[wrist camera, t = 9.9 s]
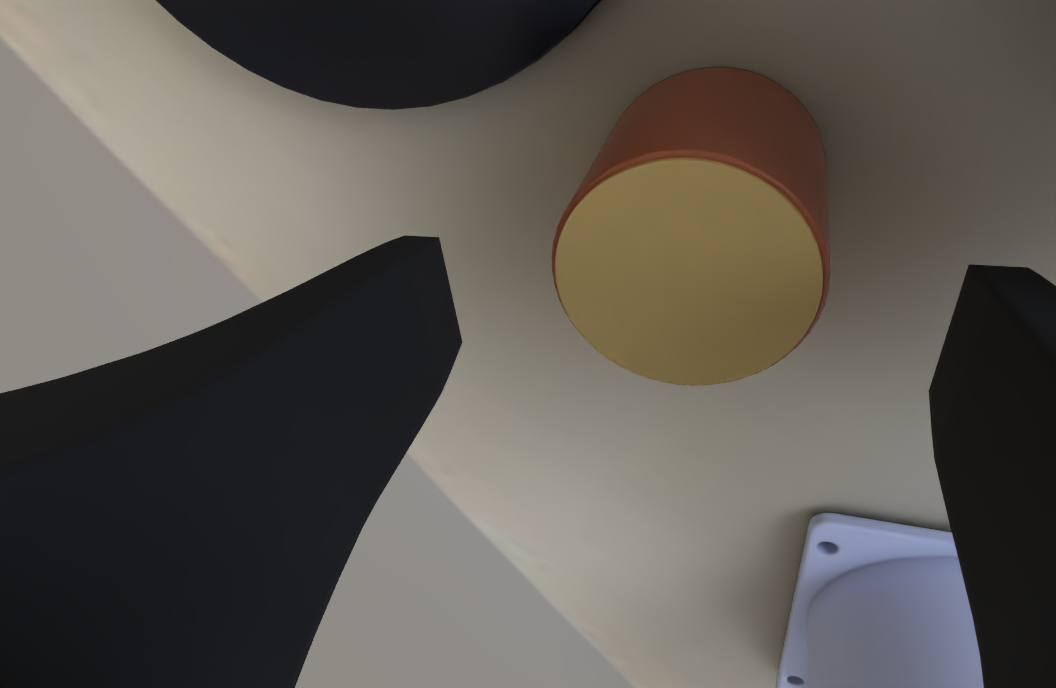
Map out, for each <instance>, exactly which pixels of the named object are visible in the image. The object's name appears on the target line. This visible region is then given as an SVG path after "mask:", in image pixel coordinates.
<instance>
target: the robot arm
mask: <svg viewBox="0 0 1056 688" xmlns="http://www.w3.org/2000/svg"><path fill="white" fill-rule="evenodd" d="M461 344H462V338H461V334H460V329H459V325H458V320H457V316H456V311H455V307H454V302H453V298H452V293H451V289H450V284H449V280H448V275H447V271H446V267H445V262H444V258H443V253H442V249H441V244H440V240H439V237H421V236H402V237H399V238H397V239H394V240H391V241H389V242H386V243H384V244H381V245H379V246H377V247H375V248H373V249H371V250H368V251H366V252H364V253H362V254H360V255H358V256H356V257H354V258H352V259H350V260H348V261H346V262H344V263H342V264H340V265H338V266H336V267H334V268H332V269H330V270H328V271H326V272H324V273H322V274H320V275H318V276H316V277H314V278H312V279H310V280H308V281H306V282H304V283H302V284H300V285H298V286H296V287H294V288H292V289H290V290H288V291H286V292H284V293H282V294H280V295H278V296H276V297H274V298H271V299H269V300H267V301H265V302H263V303H261V304H259V305H256V306H254V307H252V308H250V309H248V310H246V311H244V312H242V313H240V314H237V315H235V316H233V317H231V318H229V319H226V320H224V321H222V322H220V323H217V324H215V325H213V326H210V327H208V328H205V329H203V330H200V331H198V332H196V333H193V334H191V335H188V336H185V337H183V338H180V339H177V340H175V341H172V342H169V343H167V344H164V345H162V346H159V347H156V348H153V349H151V350H148V351H145V352H142V353H139V354H136V355H133V356H130V357H127V358H124V359H120V360H117V361H114V362H111V363H107V364H104V365H101V366H98V367H95V368H91V369H88V370H85V371H82V372H79V373H76V374H72V375H69V376H66V377H62V378H59V379H55V380H51V381H47V382H44V383H40V384H36V385H32V386H28V387H24V388H21V389H17V390H13V391H8V392H4V393H0V688H295V685H296V683H297V680H298V677H299V675H300V672H301V669H302V667H303V664H304V661H305V659H306V657H307V654H308V651H309V649H310V646H311V644H312V641H313V638H314V636H315V634H316V631H317V629H318V627H319V624H320V622H321V620H322V617H323V615H324V612H325V610H326V608H327V605H328V603H329V601H330V598H331V596H332V594H333V591H334V589H335V586H336V584H337V582H338V580H339V577H340V575H341V573H342V571H343V569H344V567H345V564H346V562H347V560H348V558H349V556H350V554H351V551H352V549H353V547H354V545H355V543H356V541H357V538H358V536H359V534H360V532H361V530H362V528H363V526H364V524H365V522H366V520H367V518H368V516H369V515H370V513H371V511H372V509H373V507H374V505H375V504H376V502H377V500H378V498H379V497H380V495H381V493H382V492H383V490H384V488H385V487H386V485H387V483H388V482H389V480H390V478H391V477H392V475H393V474H394V472H395V470H396V469H397V467H398V465H399V464H400V462H401V460H402V459H403V457H404V455H405V454H406V452H407V450H408V449H409V447H410V445H411V444H412V442H413V441H414V439H415V437H416V436H417V434H418V432H419V431H420V429H421V427H422V426H423V424H424V422H425V420H426V419H427V417H428V415H429V414H430V412H431V410H432V409H433V407H434V405H435V403H436V402H437V400H438V398H439V396H440V395H441V393H442V391H443V388H444V386H445V384H446V381H447V379H448V377H449V375H450V372H451V370H452V367H453V365H454V362H455V360H456V357H457V354H458V352H459V349H460V347H461ZM929 399H930V414H931V428H932V439H933V449H934V459H935V463H936V468H937V472H938V476H939V481H940V485H941V489H942V493H943V498H944V502H945V506H946V510H947V515H948V519H949V523H950V527H951V531H952V532H946V531H940V530H934V529H928V528H921V527H915V526H909V525H903V524H897V523H891V522H885V521H878V520H872V519H866V518H860V517H854V516H848V515H842V514H835V513H821V514H817V515H815V516H814V517H812V518H811V520H810V522H809V525H808V530H807V535H806V540H805V545H804V550H803V554H802V559H801V564H800V569H799V574H798V579H797V583H796V588H795V593H794V598H793V603H792V608H791V612H790V617H789V622H788V627H787V632H786V636H785V641H784V646H783V651H782V656H781V661H780V665H779V670H778V675H777V680H776V688H1056V286H1055V285H1053V284H1052V283H1051V282H1049V281H1048V280H1046V279H1045V278H1043V277H1042V276H1041V275H1039V274H1037V273H1036V272H1034V271H1033V270H1031V269H1029V268H1027V267H1007V266H988V265H969V266H968V269H967V272H966V275H965V279H964V282H963V285H962V288H961V291H960V294H959V297H958V301H957V304H956V307H955V310H954V313H953V316H952V320H951V323H950V326H949V329H948V332H947V335H946V338H945V342H944V345H943V348H942V351H941V354H940V357H939V360H938V364H937V367H936V370H935V373H934V376H933V379H932V383H931V386H930V389H929Z"/></svg>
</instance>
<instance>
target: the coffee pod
mask: <svg viewBox="0 0 1056 688" xmlns="http://www.w3.org/2000/svg"><path fill="white" fill-rule="evenodd" d="M552 272H553V277H554V283H555V287H556V290H557V294H558V297H559V300H560V302H561V304H562V306H563V308H564V310H565V312H566V314H567V316H568V317H569V319H570V320H571V322H572V323H573V325H574V326H575V327H576V329H577V330H578V331H579V332H580V334H581V335H582V336H583V337H584V338H585V339H586V340H587V341H588V342H589V343H590V344H591V345H592V346H593V347H594V348H595V349H596V350H597V351H599V352H600V353H601V354H603V355H604V356H605V357H606V358H608V359H609V360H611V361H613V362H614V363H616V364H618V365H619V366H621V367H623V368H625V369H627V370H629V371H631V372H633V373H636V374H639V375H641V376H644V377H647V378H650V379H654V380H658V381H661V382H667V383H673V384H680V385H712V384H720V383H726V382H730V381H734V380H738V379H742V378H745V377H747V376H750V375H753V374H756V373H758V372H760V371H762V370H764V369H766V368H768V367H770V366H772V365H774V364H775V363H777V362H778V361H780V360H781V359H783V358H784V357H786V356H787V355H788V354H789V353H790V352H792V351H793V350H794V349H795V348H796V347H797V346H798V345H799V344H800V343H801V342H802V341H803V340H804V339H805V337H806V336H807V335H808V334H809V333H810V331H811V330H812V328H813V327H814V325H815V324H816V322H817V320H818V319H819V317H820V314H821V312H822V310H823V307H824V305H825V302H826V298H827V294H828V290H829V282H830V254H829V232H828V210H827V188H826V166H825V153H824V148H823V144H822V140H821V137H820V134H819V132H818V129H817V127H816V125H815V123H814V121H813V119H812V118H811V116H810V114H809V113H808V111H807V110H806V109H805V108H804V107H803V105H802V104H801V103H800V102H799V101H798V100H797V99H796V98H795V97H794V96H793V95H792V94H791V93H790V92H788V91H787V90H786V89H784V88H783V87H781V86H780V85H778V84H777V83H775V82H773V81H771V80H769V79H767V78H765V77H763V76H761V75H758V74H755V73H751V72H748V71H745V70H739V69H733V68H717V67H712V68H702V69H695V70H691V71H687V72H682V73H680V74H677V75H674V76H672V77H669V78H667V79H665V80H663V81H661V82H659V83H657V84H655V85H654V86H652V87H651V88H650V89H648V90H647V91H645V92H644V93H643V94H641V95H640V96H639V97H638V98H637V99H636V100H635V101H634V102H633V103H632V104H631V105H630V106H629V107H628V108H627V110H626V111H625V112H624V113H623V115H622V116H621V118H620V119H619V121H618V123H617V124H616V126H615V127H614V129H613V131H612V132H611V134H610V136H609V137H608V139H607V141H606V143H605V144H604V146H603V148H602V149H601V151H600V153H599V154H598V156H597V158H596V159H595V161H594V163H593V164H592V166H591V168H590V169H589V171H588V173H587V174H586V176H585V178H584V179H583V181H582V183H581V184H580V186H579V188H578V189H577V191H576V193H575V194H574V196H573V198H572V200H571V201H570V203H569V205H568V206H567V208H566V210H565V211H564V213H563V215H562V217H561V220H560V222H559V224H558V227H557V230H556V234H555V237H554V241H553V249H552Z"/></svg>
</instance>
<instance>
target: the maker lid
mask: <svg viewBox="0 0 1056 688" xmlns="http://www.w3.org/2000/svg"><path fill="white" fill-rule="evenodd" d="M156 1H157V2H158V3H159V4H160V5H161V6H162V7H164V8H165V9H166V10H167V11H168V12H169V13H170V14H171V15H172V16H173V17H174V18H175V19H176V20H177V21H179V22H180V23H181V24H182V25H184V26H185V27H186V28H188V29H189V30H190V31H192V32H193V33H194V34H195V35H197V36H198V37H199V38H201V39H202V40H203V41H204V42H206V43H207V44H208V45H210V46H211V47H212V48H214V49H215V50H217V51H218V52H220V53H221V54H223V55H225V56H226V57H228V58H229V59H231V60H233V61H234V62H236V63H237V64H239V65H241V66H242V67H244V68H245V69H247V70H249V71H251V72H253V73H255V74H257V75H259V76H261V77H263V78H265V79H267V80H269V81H271V82H273V83H275V84H278V85H280V86H282V87H284V88H287V89H289V90H292V91H295V92H298V93H301V94H304V95H307V96H310V97H313V98H316V99H318V100H322V101H327V102H332V103H337V104H342V105H347V106H352V107H357V108H374V109H391V110H396V109H407V108H418V107H429V106H434V105H438V104H442V103H446V102H450V101H454V100H458V99H462V98H466V97H469V96H471V95H473V94H476V93H478V92H481V91H483V90H485V89H488V88H490V87H492V86H495V85H497V84H499V83H502V82H504V81H506V80H507V79H509V78H510V77H512V76H514V75H515V74H517V73H519V72H520V71H522V70H523V69H525V68H527V67H528V66H530V65H532V64H533V63H535V62H536V61H538V60H540V59H541V58H542V57H543V56H544V55H546V54H547V53H548V52H549V51H550V50H552V49H553V48H554V47H555V46H556V45H558V44H559V43H560V42H561V41H562V40H564V39H565V38H566V37H567V36H568V35H570V34H571V33H572V32H573V31H574V30H575V29H576V28H578V27H579V26H580V25H581V24H582V22H583V21H584V20H585V19H586V18H587V17H588V16H589V15H590V14H591V13H592V11H593V10H594V9H595V8H596V7H597V6H598V5H599V4H600V3H601V2H602V0H156Z"/></svg>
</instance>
